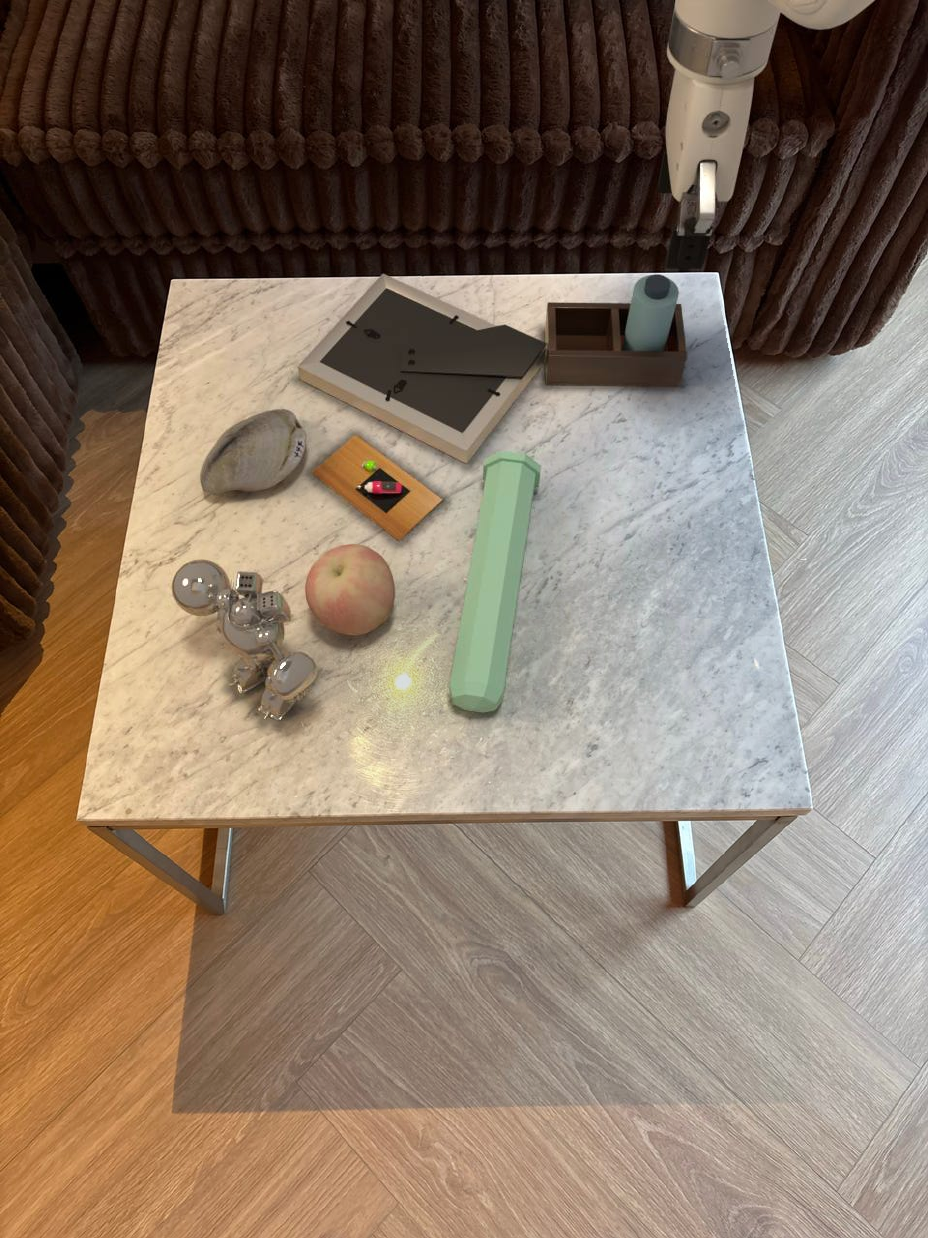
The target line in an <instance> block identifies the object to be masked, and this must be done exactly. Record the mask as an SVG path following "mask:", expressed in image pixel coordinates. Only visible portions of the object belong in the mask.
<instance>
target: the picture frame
mask: <svg viewBox="0 0 928 1238" xmlns="http://www.w3.org/2000/svg"><path fill="white" fill-rule="evenodd" d="M546 344H547V343H545V341H543V340H540V339H538V338H536V337H534V336H532V335H529V334H527V333H525V332H523V331H520V330H519V329H516V328H513V327H512V326H510V325H508V324H501V325H500V324H499V325H496V324H494V323H492V322H489V321H487V320H485V319H483V318H481V317H478V316H476V315H474V314H472V313H470V312H467V311H465V310H463V309H461V308H459V307H457V306H454V305H452V304H450V303H448V302H446V301H443V300H442V299H439V298H437V297H435V296H433V295H430V294H429V293H426V292H425V291H422V290H420V289H418V288H416V287H413V286H411V285H409V284H407V283H405V282H402V281H400V280H398V279H396V278H394V277H391V276H390V275H388V274H385V273H382V274H381V275H379V277H378V278H377V279H376V280H375V281H374V282H373V284H371V286H369V288H367V290H366V291H365V292H364V293H363V294H362V296H360V297H359V299H358V300H357V301H356V302H355V303H354V304H353V305H352V307H350V308H349V309H348V311H347V312H346V313H345V314H344V315H343V316H342V317H341V318H340V320H339V321H338V322H337V323H336V324H335V325H334V326H333V327H332V328H331V329H330V330H329V331H328V333H326V335H325V336H324V337H323V338H322V339H321V340H320V341H319V342H318V343H317V344H316V346H314V348H313V349H312V350H311V351H310V352H309V353H308V355H307V356H305V358H304V359H303V360H302V361H301V362H300V363H299V364H298V366H297V369H298V374H299V379H300V381H302V382H304V383H306V384H308V385H310V386H312V387H314V388H316V389H318V390H320V391H322V392H324V393H326V394H328V395H329V396H330V395H331V396H332V397H334V398H336V399H338V400H340V401H342V402H344V403H345V404H348V405H350V406H352V407H354V408H356V409H357V410H359V411H361V412H363V413H365V414H368V415H369V416H372V417H373V418H375V419H378V420H380V421H381V422H383V423H385V424H387V425H389V426H391V427H393V428H395V429H397V430H399V431H401V432H403V433H404V434H407V435H409V436H410V437H413V438H415V439H417V440H419V441H421V442H423V443H425V444H427V445H429V446H431V447H433V448H434V449H436V450H438V451H441V452H442V453H444V454H447V455H448V456H450V457H452V458H454V459H456V460H458V461H460V462H462V463H465V464H466V465H468V463H469V462H470V461H471V459H473V456H475V454H476V453H477V451H478V450H479V449H480V448H481V446H482V445H483V443H484V442H485V441H486V439H487V438H488V437H489V436H490V434H491V433H492V432H493V430H494V429H495V428H496V426H497V425H498V424H499V422H500V421H502V419H503V417H504V416H505V415H506V413H507V412H508V411H509V410H510V408H511V407H512V406H513V404H514V403H515V402H516V401H517V399H518V398H519V397H520V395H521V394H522V393H523V392H524V390H525V388H526V387H528V385H529V384H530V383H531V381H532V380H533V378H534V377H535V376H536V374H537V373H538V372H539V370H540V369H541V368H542V366H543V365H545V354H546V348H545V346H546Z"/></svg>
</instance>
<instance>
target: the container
mask: <svg viewBox="0 0 928 1238" xmlns="http://www.w3.org/2000/svg"><path fill="white" fill-rule="evenodd" d="M482 471H483V472H482V480H483V481H484V486H483V491H482V498H481V501H480V502H481V503H480V507H479V508H480V509H479V514H478V520H477V524H476V525H477V526H476V530H475V536H474V543H473V547H472V555H471V560H470V566H469V572H468V577H467V583H466V588H465V592H464V593H465V594H464V599H463V605H462V610H461V616H460V621H459V627H458V633H457V638H456V639H457V641H456V645H455V650H454V657H453V662H452V667H451V674H450V679H449V694H450V698H451V701H452V704H453V705H455V706H457V707H458V708H461V709H463V710H464V711H469V712H477V713H481V714H483V713H487V712H488V713H489V712H494V711H496V710H497V709H498V708H499V706H500V705H501V704H502V702H503V699H504V694H505V686H506V680H507V679H506V678H507V672H508V666H509V660H510V653H511V647H512V641H513V640H512V639H513V632H514V626H515V619H516V613H517V612H516V611H517V605H518V600H519V599H518V598H519V593H520V585H521V580H522V571H523V564H524V560H525V559H524V558H525V552H526V545H527V538H528V532H529V525H530V517H531V512H532V505H533V497H534V491H535V489H537V488H538V487H540V480H541V471H542V465H541V464H539V462H537V461H536V460H535V459H533V458H532V457H531V456H529V455H528V454H527V453H523V452H514V451H508V450H500V451H498V452H495V453H493V454H492V455H489V456H487V457H485V458H484V460H483V464H482Z"/></svg>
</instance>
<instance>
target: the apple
mask: <svg viewBox="0 0 928 1238" xmlns="http://www.w3.org/2000/svg"><path fill="white" fill-rule="evenodd" d="M395 586H396V585H395V580H394V577H393V572H392V570H391V568H390V565H389V564H388V562H387V561H386V560H385V559H384V557H383V556H382V555H381V554H379V552H377V551H375V550H374V549H372V548H370V547H368V546H366V545H363V544H358V543H349V544H343V545H339V546H336V547H333V548H332V549H329V550H327V551H325V553H323V554H321V556H319V557H318V558H317V559H316V561H314V563H313V564H312V565H311V567H310V569H309V571H308V574H307V576H306V579H305V585H304V594H305V600H306V603H307V605H308V608H309V610H310V613H311V614H312V615H313V616H314V617H315V619H317V620H318V621H319V623H320V624H322V625H323V626H324V627H325V628H328V629H330V630H331V631H333V632H336V633H339V634H343V635H348V636H360V635H363V634H367V633H370V632H371V631H373V630H375V629H376V628H378V627H379V626H380V625H381V624H382V623H384V622H385V621H386V620H387V619H388V618H389V616H390V615H391V613H392V611H393V608H394V604H395V599H396V587H395Z"/></svg>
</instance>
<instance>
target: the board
mask: <svg viewBox="0 0 928 1238" xmlns="http://www.w3.org/2000/svg"><path fill="white" fill-rule="evenodd" d="M311 474H312V475H313V476H315V477H316V478H317V479H318V480H319V481H321V482H322V483H323V484H325V485H326V486H327V487H328V488H330V489H331V490H332V491H333V492H335V493H336V494H337V495H338V496H340V497H341V498H342V499H344V500H345V501H346V502H347V503H349V504H350V505H352V506H353V507H354V508H356V510H358V511H359V512H361V514H363V515H364V516H366V517H367V519H369V520H371V521H372V522H373V523H375V524H376V525H377V526H379V527H380V528H381V529H382V530H384V531H385V532H386V533H387V534H389V535H390V536H391V537H393V538H394V539H395V540H397V541H398V542H400V541H401V540H402V539H403V538H404V537H405V536H407V534H408V533H410V531H412V530H413V529H414V528H415V527H416V526H417V525H418V524H419V523H421V522H422V521H423V520H424V519H425V518H426V517H427V516H428V515H429V514H431V512H432V511H434V510H435V509H436V508H437V507H438V506H439V505H440V504H441V503H442V502H443V501H444V499H442V497H440V496H439V495H437V494H436V493H435V492H433V491H432V490H430V488H428V487H427V486H425V484H423V483H421V482H420V481H419V480H417V478H415V477H413V476H412V475H410V474H409V473H408V472H406V470H404V469H402V468H401V467H400V466H399V465H397V464H396V463H395V462H393V461H392V460H391V459H389V458H388V457H387V456H385V455H384V454H383V453H381V452H380V451H378V450H377V449H376V448H374V446H372V445H370V444H369V443H368V442H366V441H365V440H364V439H362V438H361V437H360V436H358V435H357V434H355V435H353V436H352V437H351V438H350V439H349V440H348V441H347V442H345V443H344V444H343V445H342V446H341V447H339V448H338V449H337V450H336V451H334V453H332V454H331V455H330V456H329V457H328V458H326V460H324V461H323V462H322V463H320V464H319V465H318V466H317V467H316V468H314V469H313V471H311Z"/></svg>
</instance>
